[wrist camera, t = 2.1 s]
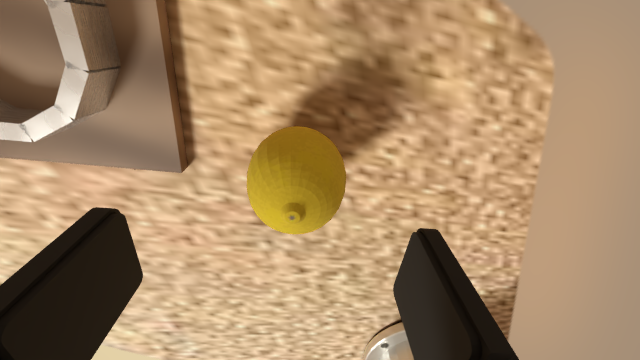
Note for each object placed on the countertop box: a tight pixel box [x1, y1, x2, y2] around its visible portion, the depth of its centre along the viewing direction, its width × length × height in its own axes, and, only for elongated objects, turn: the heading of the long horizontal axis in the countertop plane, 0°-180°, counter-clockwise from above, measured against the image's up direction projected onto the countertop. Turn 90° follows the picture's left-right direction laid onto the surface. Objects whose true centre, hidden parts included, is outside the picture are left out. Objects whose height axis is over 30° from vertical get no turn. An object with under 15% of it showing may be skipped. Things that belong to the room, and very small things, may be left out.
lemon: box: [247, 126, 346, 234], centre depth 16 cm, size 6×6×8 cm
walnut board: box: [0, 0, 188, 173], centre depth 15 cm, size 16×16×1 cm
